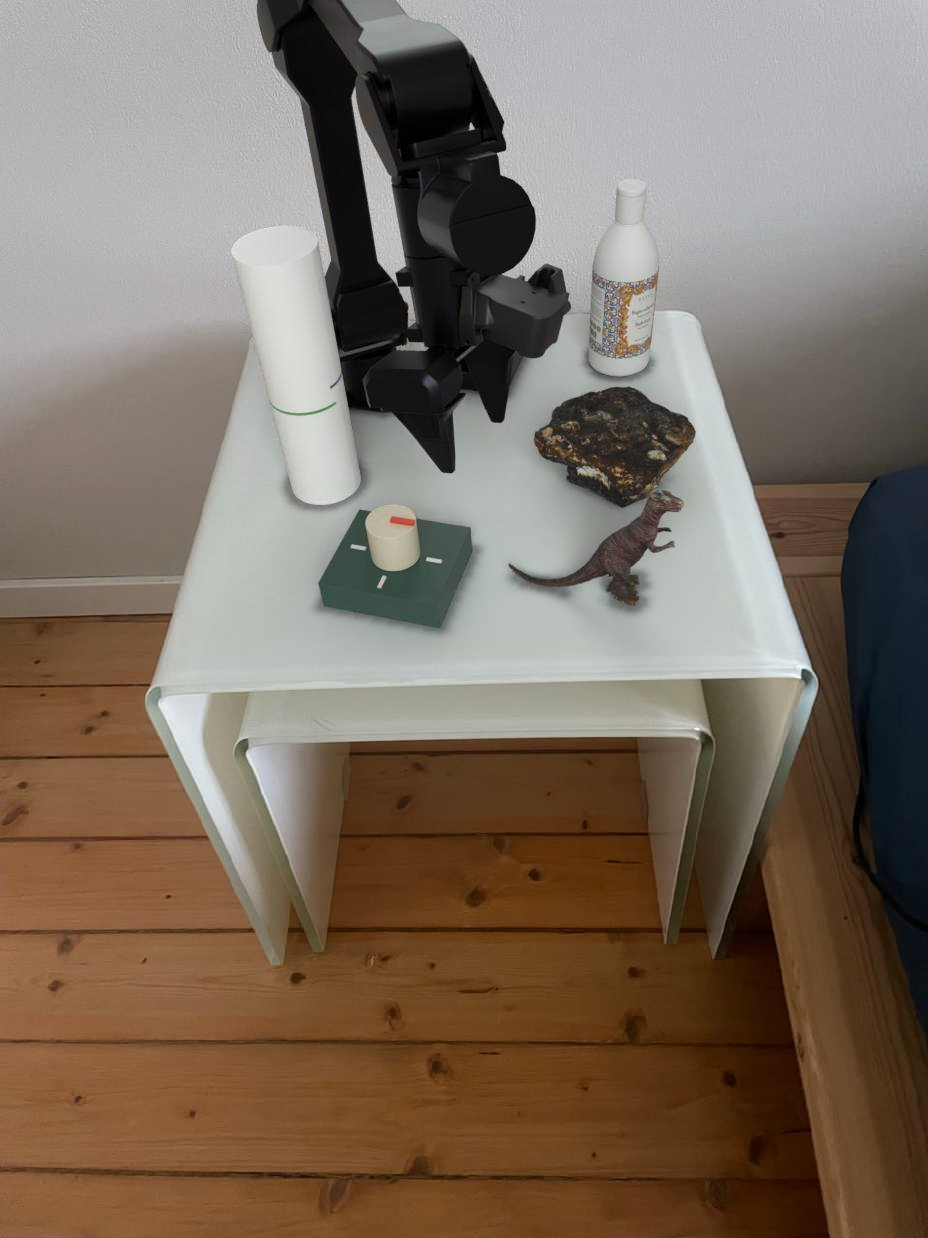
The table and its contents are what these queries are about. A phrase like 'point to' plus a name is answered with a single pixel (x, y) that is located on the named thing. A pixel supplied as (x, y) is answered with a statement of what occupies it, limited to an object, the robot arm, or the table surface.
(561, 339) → the table surface
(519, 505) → the table surface
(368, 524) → the dial knob
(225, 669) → the table surface
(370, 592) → the dial panel
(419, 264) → the robot arm
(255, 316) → the cylindrical container
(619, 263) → the bath foam
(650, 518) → the dinosaur model
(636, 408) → the fossil rock
